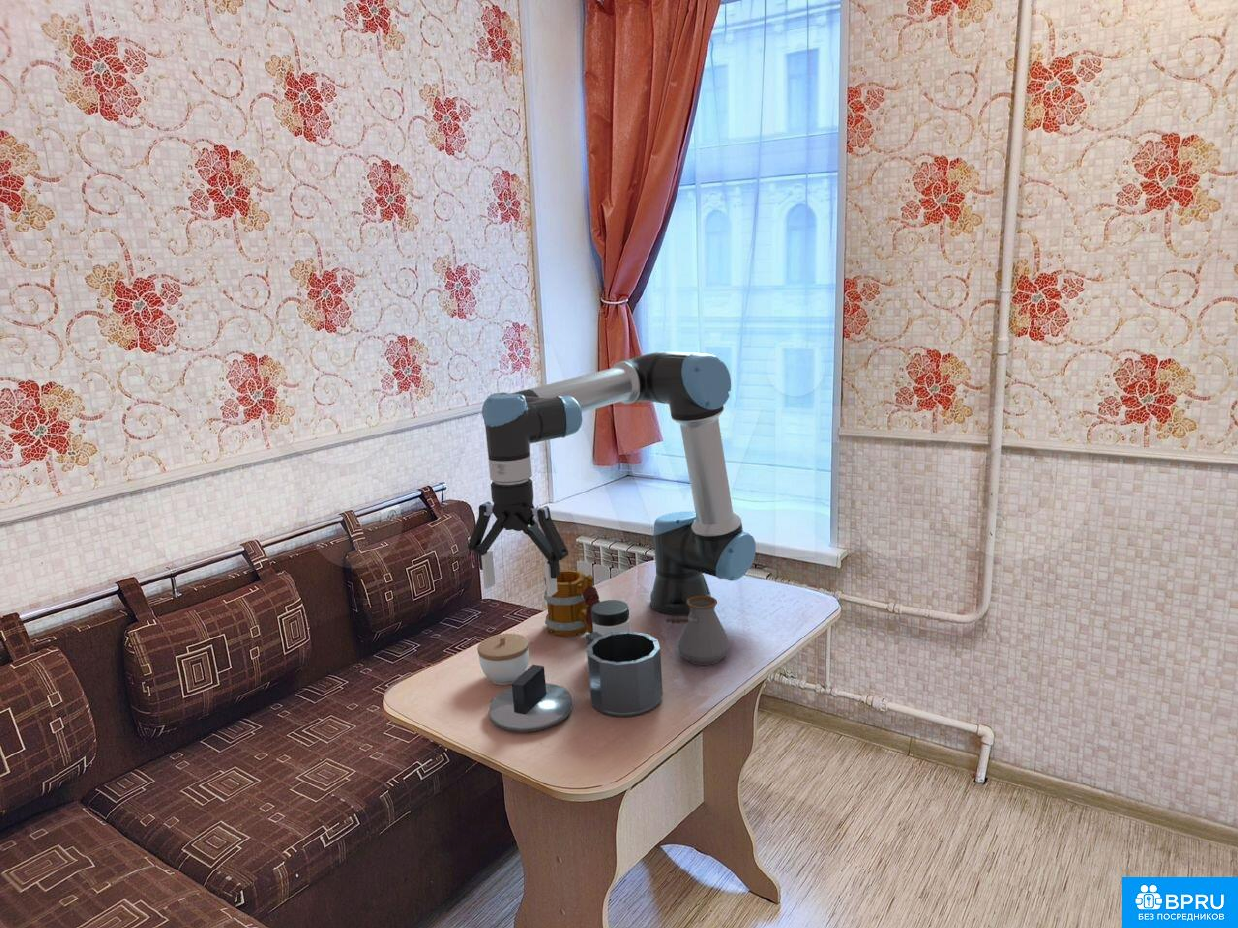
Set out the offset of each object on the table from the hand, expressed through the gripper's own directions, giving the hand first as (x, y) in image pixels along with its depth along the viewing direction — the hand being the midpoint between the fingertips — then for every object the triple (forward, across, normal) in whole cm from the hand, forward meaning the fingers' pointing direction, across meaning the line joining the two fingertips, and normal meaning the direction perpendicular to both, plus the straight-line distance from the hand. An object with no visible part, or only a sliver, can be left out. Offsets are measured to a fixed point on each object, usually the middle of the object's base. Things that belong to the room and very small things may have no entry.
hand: (520, 590), depth 155 cm
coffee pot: (+25, +24, +27) cm, 44 cm away
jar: (+25, +6, +26) cm, 37 cm away
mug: (+25, -9, +36) cm, 45 cm away
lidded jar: (+26, -12, +11) cm, 30 cm away
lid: (+26, 0, 0) cm, 26 cm away
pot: (+25, +14, +12) cm, 31 cm away
